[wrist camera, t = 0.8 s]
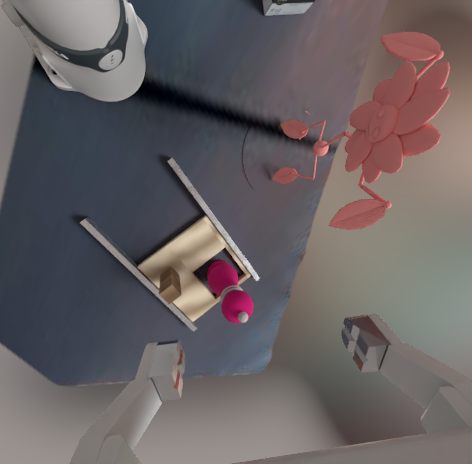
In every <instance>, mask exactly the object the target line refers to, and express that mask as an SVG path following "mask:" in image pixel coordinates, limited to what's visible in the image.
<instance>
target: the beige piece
mask: <svg viewBox="0 0 472 464" xmlns="http://www.w3.org/2000/svg"><path fill="white" fill-rule="evenodd" d="M224 248H226V249H227V251H228V252H229V253H230V255H231V256H232V257H233V258H234V260H235V261H236V262H237V264H238V265H239V266H240V268H241V269H242V270H243V272H244V274H242V275H241V276H240V277H239V278H238V286H239V285H240V284H241V283H243V282H244V281H245V280H246V279H248V278H249V277H250V276H251V274H250V273H249V272H248V270H247V269H246V268H245V266H244V265H243V264H242V262H241V261H240V260H239V258H238V257H237V256H236V254H235V253H234V252H233V250H232V249H231V248H230V246H229V245H228V244H227V242H226V241H225V240H224V238H223V237H222V236H221V234H220V233H219V232H218V230H217V229H216V228H215V226H214V225H213V224H212V222H211V221H210V220H209V218H208V217H207V216H206V215H205V216H203V217H202V218H201V219H199V220H198V221H197V222H195V223H194V224H193V225H191V226H190V227H189V228H187V229H186V230H185V231H183V232H182V233H180V234H179V235H178V236H176V237H175V238H174V239H172V240H171V241H170V242H168V243H167V244H166V245H164V246H163V247H162V248H160V249H159V250H158V251H156V252H155V253H154V254H152V255H151V256H149V257H148V258H147V259H145V260H144V261H143V262H141V263H140V264H139V265H138V268H139V269H140V270H141V271H142V272H143V273H144V274H145V275H146V276H147V277H148V278H149V279H150V280H151V281H152V282H153V283H154V284H155V285H156V286H157V287H158V288H159V295H160V296H161V297H162V298H163V299H164V300H165V301H166V302H167V303H168V304H171V303H172V302H173V303H174V304H175V305H176V306H177V307H178V308H179V309H180V310H181V311H182V312H183V313H184V314H185V315H186V316H187V317H188V318H189V319H190V320H191V321H192V322H193V321H195V320H196V319H197V318H198V317H200V316H201V315H202V314H203V313H205V312H206V311H207V310H209V309H210V308H211V307H212V306H214V305H215V304H216V303H217V302H219V301H220V295H216V296H214V295H213V294H212V293H211V292H210V291H209V290H208V289H207V287H206V286H205V285H204V284H203V283H202V282H201V281H200V280H199V278H198V277H197V276H196V275H195V274H194V273H193V272H194V271H195V270H196V269H198V268H199V267H200V266H202V265H203V264H204V263H205V262H207V261H208V260H209V259H211V258H212V257H213V256H215V255H216V254H217V253H218V252H220V251H221V250H222V249H224Z"/></svg>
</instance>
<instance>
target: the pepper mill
mask: <svg viewBox="0 0 472 464" xmlns="http://www.w3.org/2000/svg"><path fill="white" fill-rule="evenodd" d="M207 276H208V285H209V287H210V288H211V290H212V291H213V292H214V293H216V294H217V295H220V301H221V303H222V313H223V315H224V316H225V318H226V319H227V320H228V321H230V322H232V323H244V322H246V321H247V320H248V318H249V317H250V316H251V314H252V312H253V302H252V299H251V297H250V296H249V295H248V294H247V293H246V292H244V291H243V290H242V288H241V287H239V286H238V275H237V273H236V271H235V269H234V268H233V267H232V266H230V265H229V264H228V263H227V262H225V261H222V260H218V261H215V262H213V263H212V264H211V265H210V266H209V267H208V270H207Z"/></svg>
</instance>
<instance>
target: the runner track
mask: <svg viewBox="0 0 472 464" xmlns="http://www.w3.org/2000/svg"><path fill="white" fill-rule="evenodd" d="M167 162H168V163H169V165H170V166H171V167H172V169H173V170H174V171H175V173H176V174H177V175H178V177H179V178H180V179H181V181H182V182H183V183H184V185H185V186H186V188H187V189H188V190H189V192H190V193H191V194H192V196H193V197H194V198H195V200H196V201H197V202H198V204H199V205H200V206H201V208H202V209H203V210H204V212H205V213H206V214H207V216H208V217H209V218H210V220H211V221H212V222H213V224H214V225H215V227H216V228H217V229H218V231H219V232H220V233H221V235H222V236H223V237H224V239H225V240H226V241H227V243H228V244H229V245H230V247H231V248H232V249H233V251H234V252H235V253H236V255H237V256H238V257H239V259H240V260H241V261H242V263H243V264H244V265H245V267H246V268H247V270H248V271H249V272H250V274H251V275H252V276H253V278H254V279H255V280H256V281H257V280H259V279H260V278H259V276H258V275H257V273H256V272H255V271H254V269H253V268H252V267H251V265H250V264H249V262H248V261H247V260H246V258H245V257H244V256H243V254H242V253H241V251H240V250H239V249H238V247H237V246H236V245H235V243H234V242H233V241H232V239H231V238H230V236H229V235H228V234H227V232H226V231H225V230H224V228H223V227H222V225H221V224H220V223H219V221H218V220H217V219H216V217H215V216H214V214H213V213H212V212H211V210H210V209H209V208H208V206H207V205H206V203H205V202H204V201H203V199H202V198H201V197H200V195H199V194H198V192H197V191H196V190H195V188H194V187H193V186H192V184H191V183H190V181H189V180H188V179H187V177H186V176H185V175H184V173H183V172H182V170H181V169H180V168H179V166H178V165H177V164H176V162H175V161H174V160H173V158H171V159H170V160H168V161H167ZM80 223H81V224H82V225H83V226H84V227H85V228H86V229H87V230H88V231H89V232H90V233H91V234H92V235H93V236H94V237H95V238H96V239H97V240H98V241H99V242H100V243H101V244H103V245H104V246H105V247H106V248H107V249H108V250H109V251H110V252H111V253H112V254H113V255H114V256H115V257H116V258H117V259H118V260H119V261H120V262H121V263H122V264H123V265H124V266H125V267H127V268H128V269H129V270H130V271H131V272H132V273H133V274H134V275H135V276H136V277H137V278H138V279H139V280H140V281H141V282H142V283H143V284H144V285H145V286H146V287H147V288H148V289H149V290H151V291H152V292H153V293H154V294H155V295H156V296H157V297H158V298H159V299H160V300H161V301H162V302H163V303H164V304H165V305H166V306H167V307H168V308H169V309H170V310H171V311H172V312H174V313H175V314H176V315H177V316H178V317H179V318H180V319H181V320H182V321H183V322H184V323H185V324H186V325H187V326H188V327H189V328H190V329H191V330H192V331H193V332H194V331H195V330H196V329H197V325H196V322H195V321H193V322H192V321H191V320H190V319H189V318H188V317H187V316H186V315H185V314H184V313H183V312H182V311H181V310H180V309H179V308H178V307H177V306H176V305H175V304H174V303H173V302H172V303H171V304H168V303H167V302H166V301H165V300H164V299H163V298H162V297H161V296H160V295H159V288H158V287H157V286H156V285H155V284H154V283H153V282H152V281H151V280H150V279H149V278H148V277H147V276H146V275H145V274H144V273H143V272H142V271H141V270H140V269H139V268H138V265H137V264H136V263H135V262H134V261H133V260H132V259H131V258H130V257H129V256H128V255H127V254H126V253H125V252H124V251H123V250H122V249H121V248H120V247H119V246H118V245H117V244H116V243H115V242H114V241H113V240H112V239H111V238H110V237H109V236H108V235H107V234H106V233H105V232H104V231H103V230H102V229H101V228H100V227H99V226H98V225H97V224H96V223H95V222H94V221H93V220H92V219H91V218H90V217H88V218H86V219H84V220H83V221H81V222H80Z"/></svg>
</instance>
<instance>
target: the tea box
mask: <svg viewBox="0 0 472 464" xmlns="http://www.w3.org/2000/svg"><path fill="white" fill-rule="evenodd" d="M314 1H315V0H263V8H264V15H285V14H302V13H304V12H305V11H306V10H307V9H308V8H309V7H310V6H311V5H312V4H313V2H314Z"/></svg>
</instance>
